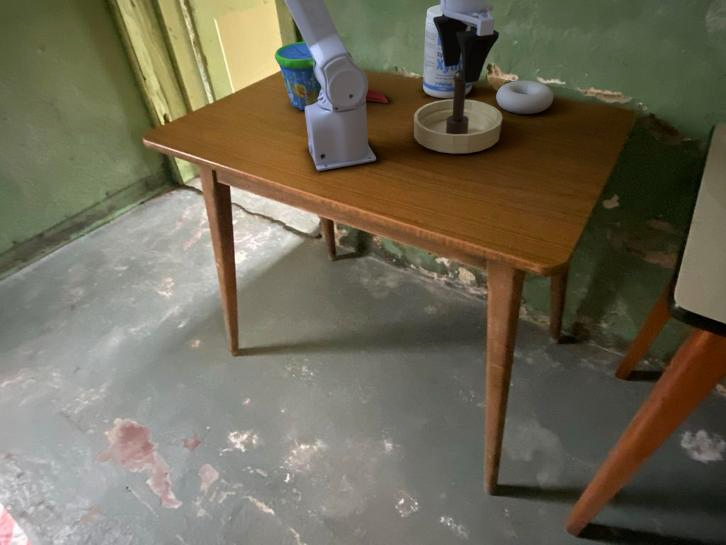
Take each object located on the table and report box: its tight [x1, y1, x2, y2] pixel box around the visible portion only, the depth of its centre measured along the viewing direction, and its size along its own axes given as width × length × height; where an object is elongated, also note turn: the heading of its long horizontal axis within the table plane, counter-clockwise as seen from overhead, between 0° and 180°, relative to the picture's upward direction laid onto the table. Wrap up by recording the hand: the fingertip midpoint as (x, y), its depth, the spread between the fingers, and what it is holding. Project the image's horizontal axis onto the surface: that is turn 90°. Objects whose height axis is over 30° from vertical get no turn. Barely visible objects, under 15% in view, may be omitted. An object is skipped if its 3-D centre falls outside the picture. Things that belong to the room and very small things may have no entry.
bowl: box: [413, 98, 504, 154], centre depth 81 cm, size 14×14×4 cm
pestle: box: [446, 69, 469, 134], centre depth 79 cm, size 4×4×10 cm
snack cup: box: [274, 41, 322, 111], centre depth 93 cm, size 16×10×10 cm
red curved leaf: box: [366, 88, 389, 104], centre depth 96 cm, size 12×5×2 cm, turn 50°
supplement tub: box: [422, 4, 473, 100], centre depth 93 cm, size 10×10×15 cm
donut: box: [495, 79, 554, 115], centre depth 89 cm, size 10×3×10 cm
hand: (460, 73), depth 76 cm, fingers open, 7 cm apart
